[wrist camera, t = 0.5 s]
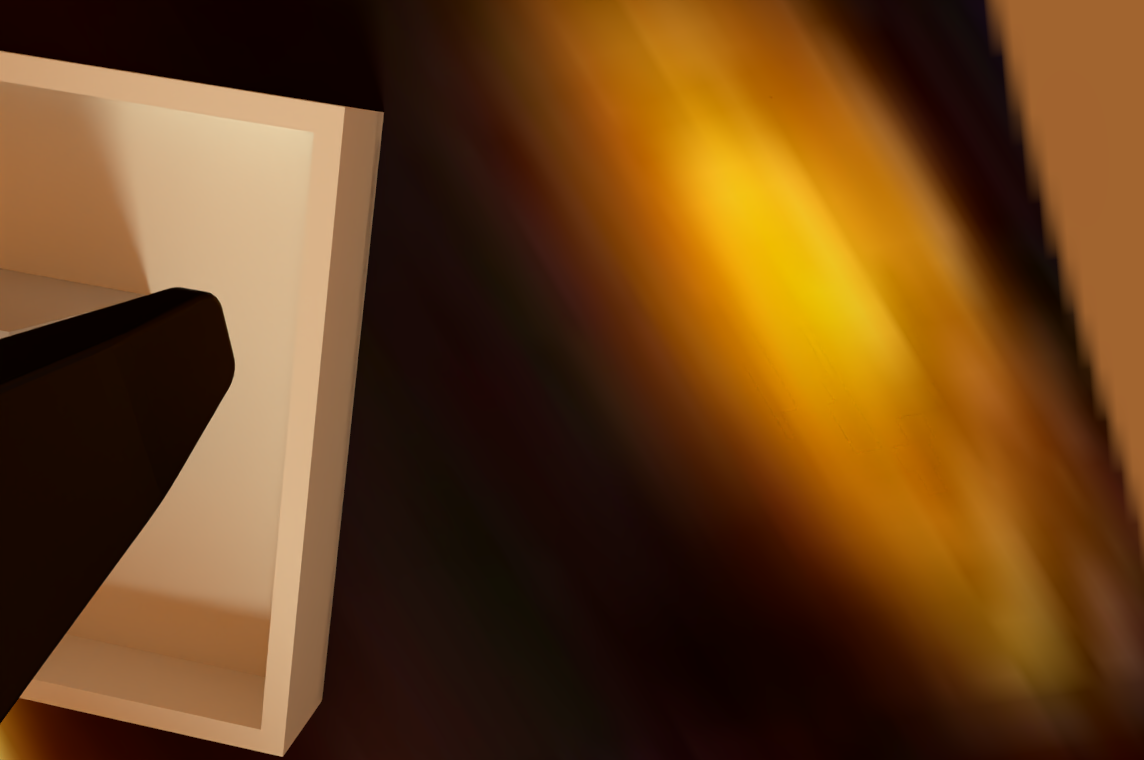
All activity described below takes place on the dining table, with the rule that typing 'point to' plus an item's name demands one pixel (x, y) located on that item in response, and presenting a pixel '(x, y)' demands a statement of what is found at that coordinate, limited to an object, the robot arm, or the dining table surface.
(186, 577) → the bin
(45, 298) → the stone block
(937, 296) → the dining table surface
